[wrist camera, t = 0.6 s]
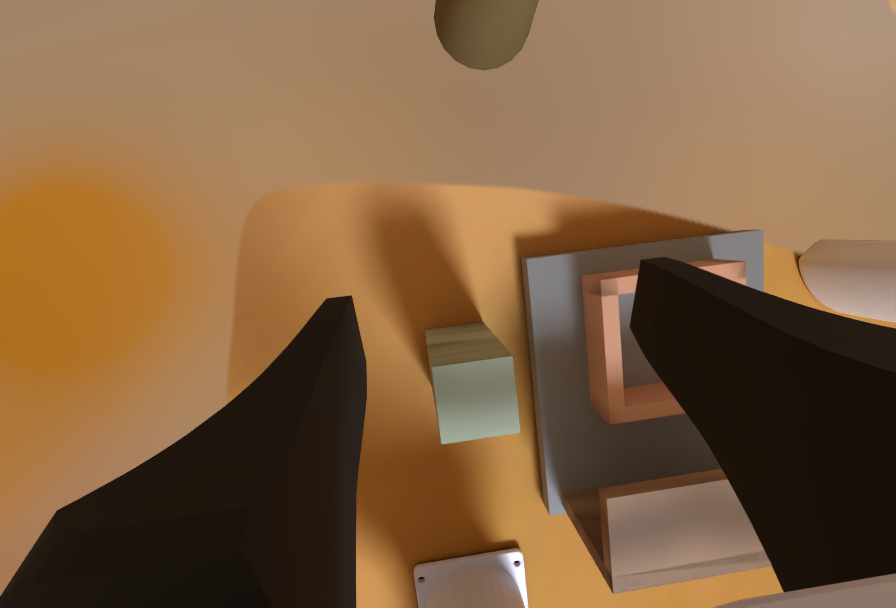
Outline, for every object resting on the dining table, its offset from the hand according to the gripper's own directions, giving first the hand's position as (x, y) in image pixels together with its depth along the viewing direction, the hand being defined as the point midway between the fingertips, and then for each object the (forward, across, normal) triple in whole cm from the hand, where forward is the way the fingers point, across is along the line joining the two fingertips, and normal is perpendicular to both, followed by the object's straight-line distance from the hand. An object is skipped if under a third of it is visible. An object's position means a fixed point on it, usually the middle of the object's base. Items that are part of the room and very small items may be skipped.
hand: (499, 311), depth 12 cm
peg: (+15, 0, +14) cm, 20 cm away
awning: (+11, -13, +21) cm, 27 cm away
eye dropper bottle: (+16, -27, +12) cm, 34 cm away
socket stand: (+14, -13, +16) cm, 25 cm away
